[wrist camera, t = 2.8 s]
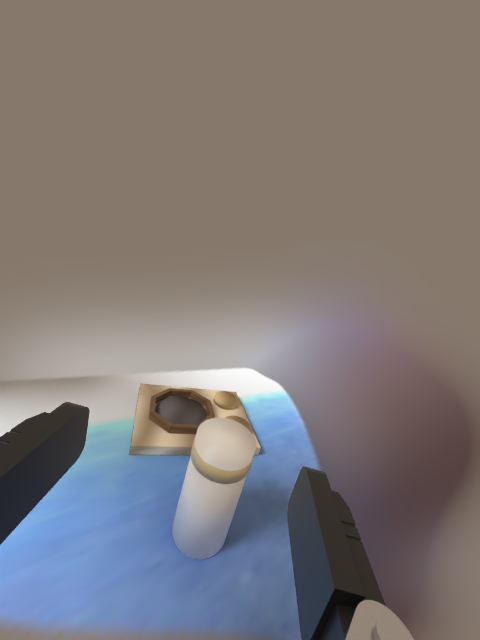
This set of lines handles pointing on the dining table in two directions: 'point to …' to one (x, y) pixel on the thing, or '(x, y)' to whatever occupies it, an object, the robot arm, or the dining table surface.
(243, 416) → the board
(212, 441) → the cylinder
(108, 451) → the dining table surface
